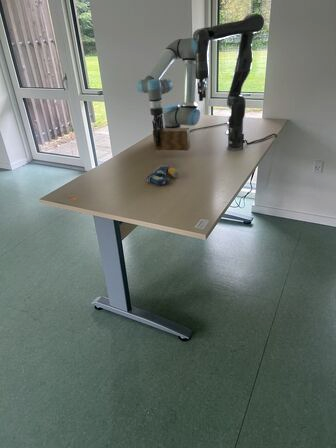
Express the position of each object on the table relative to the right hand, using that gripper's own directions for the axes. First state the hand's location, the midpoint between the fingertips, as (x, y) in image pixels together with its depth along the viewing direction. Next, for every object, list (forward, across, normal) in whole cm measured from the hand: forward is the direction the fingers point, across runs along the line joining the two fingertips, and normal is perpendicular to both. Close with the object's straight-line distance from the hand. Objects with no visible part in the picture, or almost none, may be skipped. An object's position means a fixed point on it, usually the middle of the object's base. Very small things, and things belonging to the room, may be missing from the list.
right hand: (202, 99), depth 198 cm
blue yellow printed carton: (+34, -41, +14) cm, 55 cm away
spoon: (+34, +60, -11) cm, 69 cm away
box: (+28, -7, +19) cm, 35 cm away
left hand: (+26, -7, +27) cm, 38 cm away
